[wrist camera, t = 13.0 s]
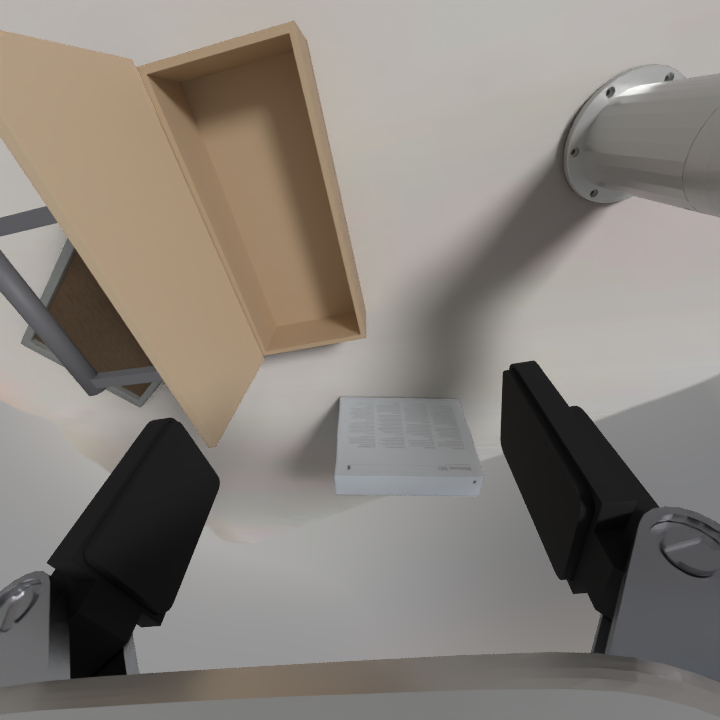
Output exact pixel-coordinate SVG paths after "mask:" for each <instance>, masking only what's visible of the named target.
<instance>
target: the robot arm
mask: <svg viewBox="0 0 720 720" xmlns="http://www.w3.org/2000/svg"><path fill="white" fill-rule="evenodd" d="M664 79H665V80H664ZM606 92H608V93H607V95H606ZM572 150H573V153H572V154H571V152H572ZM563 163H564V172H565V176H566V179H567V181H568V183H569V185H570V187H571V188H572V189H573V190H574V192H575V193H576V194H578V195H579V196H581V197H582V198H584V199H587V200H590V201H593V202H598V203H612V202H617V201H622V200H624V199H627V198H630V197H632V196H636V197H640V198H644V199H648V200H652V201H656V202H660V203H664V204H668V205H672V206H676V207H679V208H683V209H687V210H691V211H695V212H699V213H703V214H708V215H712V216H716V217H720V74H713V75H706V76H700V77H693V78H686V77H685V76H684V75H683V74H682V73H681V72H679V71H678V70H677V69H675V68H672V67H670V66H668V65H659V64H653V65H646V66H640V67H637V68H633V69H630V70H628V71H625V72H623V73H621V74H619V75H617V76H616V77H614V78H613V79H611V80H610V81H608V82H607V83H605V84H604V85H603V86H602V87H601V88H600V89H599V90H597V91H596V92H595V93H594V94H593V95H592V97H591V98H590V99H589V100H588V101H587V102H586V104H585V105H584V106H583V108H582V109H581V111H580V112H579V114H578V115H577V117H576V118H575V120H574V123H573V125H572V127H571V129H570V131H569V134H568V137H567V140H566V143H565V149H564V156H563ZM591 191H592V192H591ZM590 193H591V194H590ZM501 446H502V450H503V453H504V455H505V457H506V460H507V462H508V464H509V466H510V469H511V471H512V474H513V476H514V478H515V481H516V483H517V485H518V488H519V490H520V492H521V494H522V497H523V499H524V501H525V504H526V505H527V508H528V511H529V513H530V515H531V518H532V520H533V522H534V524H535V526H536V529H537V531H538V534H539V536H540V538H541V541H542V543H543V545H544V548H545V550H546V552H547V554H548V557H549V559H550V562H551V563H552V566H553V569H554V571H555V573H556V575H557V576H558V578H559V579H560V580H567V581H568V583H569V586H570V588H571V590H572V592H573V594H578V593H588V595H589V598H590V600H591V602H592V604H593V606H594V608H595V610H597V611H599V612H600V613H601V615H600V619H599V623H598V627H597V630H596V634H595V638H594V642H593V646H592V650H591V653H562V652H539V653H511V654H482V655H457V656H439V657H438V656H437V657H420V658H401V659H382V660H364V661H346V662H327V663H312V664H294V665H276V666H260V667H243V668H226V669H211V670H194V671H179V672H163V673H149V674H148V673H147V674H139V668H138V662H137V656H136V651H135V645H134V639H133V634H132V633H133V630H134V628H135V626H136V624H137V625H139V626H140V627H152V626H161V623H162V621H163V618H164V616H165V613H166V612H167V611H168V610H169V609H170V608H171V607H172V605H173V603H174V600H175V598H176V595H177V592H178V590H179V588H180V585H181V583H182V580H183V578H184V575H185V573H186V570H187V568H188V565H189V563H190V560H191V557H192V555H193V553H194V550H195V547H196V545H197V542H198V540H199V537H200V535H201V532H202V530H203V527H204V525H205V522H206V520H207V517H208V515H209V512H210V510H211V507H212V505H213V502H214V500H215V497H216V495H217V492H218V490H219V486H220V480H219V477H218V475H217V474H216V472H215V471H214V470H213V468H212V467H211V465H210V464H209V462H208V461H207V459H206V458H205V457H204V455H203V454H202V452H201V451H200V449H199V448H198V447H197V445H196V444H195V442H194V441H193V439H192V438H191V436H190V435H189V434H188V432H187V431H186V429H185V428H184V426H183V425H182V424H181V423H180V422H177V421H176V420H175V419H173V418H165V419H158V420H152V421H150V422H149V423H148V424H147V425H146V426H145V428H144V429H143V431H142V432H141V433H140V435H139V436H138V437H137V439H136V440H135V442H134V443H133V444H132V446H131V447H130V448H129V450H128V451H127V453H126V454H125V455H124V457H123V458H122V460H121V461H120V462H119V464H118V465H117V466H116V468H115V469H114V471H113V472H112V473H111V475H110V476H109V478H108V479H107V480H106V482H105V483H104V484H103V486H102V487H101V489H100V490H99V492H98V493H97V494H96V495H95V497H94V498H93V500H92V501H91V502H90V504H89V505H88V506H87V508H86V509H85V511H84V512H83V513H82V515H81V516H80V517H79V519H78V520H77V522H76V523H75V524H74V526H73V527H72V528H71V530H70V531H69V533H68V534H67V535H66V537H65V538H64V540H63V541H62V542H61V544H60V545H59V546H58V548H57V549H56V550H55V552H54V553H53V555H52V556H51V557H50V559H49V560H48V562H47V563H48V564H49V565H51V566H52V567H54V568H55V571H54V572H53V574H52V575H51V576H50V575H48V574H47V573H45V572H44V571H35V572H32V573H29V574H26V575H24V576H22V577H20V578H19V579H17V580H15V581H13V582H12V583H11V584H9V585H8V586H7V587H5V588H4V589H3V590H2V591H0V720H720V524H718V523H717V522H716V521H714V520H712V519H710V518H708V517H706V516H704V515H702V514H700V513H697V512H694V511H691V510H687V509H683V508H680V507H667V506H665V507H659V506H658V505H657V503H656V502H655V501H654V500H653V498H652V497H651V496H650V495H649V493H648V492H647V491H646V489H645V488H644V487H643V486H642V484H641V483H640V482H639V480H638V479H637V478H636V477H635V475H634V474H633V473H632V471H631V470H630V469H629V468H628V466H627V465H626V464H625V463H624V461H623V460H622V459H621V457H620V456H619V455H618V453H617V452H616V451H615V450H614V448H613V447H612V446H611V445H610V443H609V442H608V441H607V439H606V438H605V437H604V436H603V434H602V433H601V432H600V431H599V429H598V428H597V427H596V425H595V424H594V423H593V421H592V420H591V419H590V418H589V416H588V415H587V414H586V413H585V412H584V410H583V409H582V408H580V407H578V406H571V407H569V406H568V404H567V403H566V402H565V400H564V399H563V398H562V396H561V395H560V394H559V392H558V391H557V390H556V388H555V387H554V385H553V384H552V383H551V381H550V380H549V379H548V377H547V376H546V375H545V373H544V372H543V371H542V369H541V368H540V366H539V365H538V364H537V363H536V362H535V361H528V362H521V363H515V364H511V365H510V368H509V370H506V371H504V372H503V383H502V411H501Z"/></svg>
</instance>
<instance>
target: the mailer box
mask: <svg viewBox="0 0 720 720" xmlns="http://www.w3.org/2000/svg"><path fill="white" fill-rule="evenodd" d="M136 68H137V70H138V72H139V75H140V77H141V79H142V81H143V84H144V86H145V88H146V91H147V93H148V95H149V97H150V100H151V102H152V104H153V106H154V109H155V111H156V113H157V116H158V118H159V120H160V122H161V125H162V127H163V129H164V131H165V134H166V136H167V138H168V141H169V143H170V145H171V147H172V150H173V152H174V154H175V157H176V159H177V161H178V163H179V166H180V168H181V170H182V172H183V175H184V177H185V179H186V182H187V184H188V186H189V188H190V191H191V193H192V195H193V197H194V200H195V202H196V204H197V207H198V209H199V211H200V213H201V216H202V218H203V220H204V222H205V225H206V227H207V229H208V232H209V234H210V236H211V238H212V241H213V243H214V245H215V247H216V250H217V252H218V254H219V257H220V259H221V261H222V263H223V266H224V268H225V270H226V272H227V275H228V277H229V279H230V282H231V284H232V286H233V288H234V291H235V293H236V295H237V297H238V300H239V302H240V304H241V307H242V309H243V311H244V313H245V316H246V318H247V320H248V322H249V325H250V327H251V329H252V332H253V334H254V336H255V338H256V341H257V343H258V345H259V348H260V350H261V352H262V354H263V356H265V355H271V354H277V353H282V352H288V351H294V350H300V349H305V348H311V347H317V346H322V345H328V344H334V343H340V342H345V341H351V340H357V339H363V338H366V310H365V306H364V301H363V296H362V292H361V287H360V283H359V278H358V273H357V269H356V264H355V260H354V255H353V250H352V246H351V241H350V237H349V232H348V227H347V223H346V218H345V214H344V209H343V204H342V200H341V195H340V191H339V186H338V181H337V177H336V172H335V168H334V163H333V158H332V154H331V149H330V145H329V140H328V135H327V131H326V126H325V122H324V117H323V112H322V108H321V103H320V99H319V94H318V89H317V85H316V80H315V76H314V71H313V66H312V62H311V57H310V53H309V48H308V43H307V40H306V38H305V37H304V35H303V34H302V32H301V31H300V29H299V28H298V26H297V25H296V23H295V21H291V22H288V23H285V24H281V25H278V26H274V27H271V28H268V29H264V30H261V31H258V32H254V33H251V34H247V35H244V36H241V37H237V38H234V39H230V40H227V41H224V42H220V43H217V44H213V45H210V46H207V47H203V48H200V49H197V50H193V51H190V52H186V53H183V54H180V55H176V56H173V57H169V58H166V59H163V60H159V61H156V62H153V63H149V64H146V65H142V66H139V67H136Z"/></svg>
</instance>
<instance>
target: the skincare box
mask: <svg viewBox="0 0 720 720" xmlns="http://www.w3.org/2000/svg"><path fill="white" fill-rule="evenodd" d="M484 479H485V474H484V472H483V470H482V467H481V464H480V461H479V458H478V455H477V452H476V449H475V446H474V442H473V439H472V436H471V433H470V430H469V427H468V425H467V423H466V420H465V417H464V414H463V411H462V408H461V405H460V401H459V399H440V398H373V397H340V398H339V414H338V428H337V444H336V462H335V472H334V482H335V494H336V495H412V496H417V495H418V496H478V494H479V492H480V489H481V486H482V484H483V482H484Z"/></svg>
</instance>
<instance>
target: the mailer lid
mask: <svg viewBox="0 0 720 720" xmlns="http://www.w3.org/2000/svg"><path fill="white" fill-rule="evenodd" d="M0 137H1V138H2V140H3V141H4V143H5V144H6V146H7V147H8V149H9V150H10V152H11V153H12V155H13V156H14V158H15V159H16V161H17V162H18V164H19V165H20V167H21V168H22V170H23V171H24V173H25V174H26V176H27V177H28V179H29V180H30V182H31V183H32V185H33V186H34V188H35V189H36V191H37V192H38V194H39V195H40V197H41V198H42V200H43V201H44V203H45V204H46V207H42V208H38V209H34V210H30V211H26V212H22V213H18V214H14V215H10V216H6V217H2V218H0V236H4V235H8V234H13V233H17V232H21V231H25V230H29V229H34V228H38V227H42V226H46V225H51V224H55V223H58V224H59V225H60V227H61V228H62V230H63V231H64V233H65V234H66V236H67V237H68V239H69V240H70V242H71V243H72V245H73V246H74V247H75V249H76V250H77V252H78V253H79V255H80V256H81V258H82V259H83V261H84V262H85V264H86V265H87V267H88V268H89V270H90V271H91V273H92V274H93V276H94V277H95V279H96V280H97V282H98V283H99V285H100V286H101V288H102V289H103V291H104V292H105V294H106V295H107V297H108V298H109V300H110V301H111V303H112V304H113V306H114V307H115V309H116V310H117V312H118V313H119V315H120V316H121V318H122V319H123V321H124V322H125V324H126V325H127V327H128V328H129V330H130V331H131V333H132V334H133V336H134V337H135V339H136V340H137V342H138V343H139V345H140V346H141V348H142V349H143V351H144V352H145V354H146V355H147V356H148V358H149V359H150V361H151V362H152V364H153V365H154V366H148V367H140V368H132V369H125V370H117V371H109V372H101V373H98V372H97V371H96V370H95V369H94V367H93V366H92V365H91V364H90V362H89V361H88V360H87V359H86V357H85V356H84V355H83V354H82V352H81V351H80V350H79V348H78V347H77V346H76V345H75V343H74V342H73V341H72V340H71V338H70V337H69V336H68V335H67V333H66V332H65V331H64V330H63V328H62V327H61V326H60V325H59V323H58V322H57V321H56V320H55V318H54V317H53V316H52V314H51V313H50V312H49V311H48V309H47V308H46V307H45V306H44V304H43V303H42V302H41V301H40V299H39V298H38V297H37V296H36V294H35V293H34V292H33V291H32V289H31V288H30V287H29V286H28V284H27V283H26V282H25V280H24V279H23V278H22V277H21V275H20V274H19V273H18V272H17V270H16V269H15V268H14V267H13V265H12V264H11V263H10V262H9V260H8V259H7V258H6V257H5V255H4V254H3V253H2V252H1V250H0V292H1V293H2V294H3V295H4V296H5V297H6V299H7V300H8V301H9V302H10V303H11V304H12V306H13V307H14V308H15V309H16V310H17V312H18V313H19V314H20V315H21V316H22V317H23V319H24V320H25V321H26V322H27V323H28V324H29V326H30V327H31V328H32V329H33V330H34V331H35V333H36V334H37V335H38V336H39V337H40V339H41V340H42V341H43V342H44V343H45V344H46V346H47V347H48V348H49V349H50V350H51V351H52V353H53V354H54V355H55V356H56V357H57V359H58V360H59V361H60V362H61V363H62V364H63V366H64V367H65V368H66V369H67V370H68V371H69V373H70V374H71V375H72V376H73V377H74V378H75V380H76V381H77V382H78V383H79V384H80V386H81V387H82V388H83V389H84V390H85V391H86V393H87V394H88V395H89V396H94V395H97V394H99V393H101V392H103V391H104V390H105V389H106V388H107V387H115V386H124V385H132V384H140V383H149V382H157V381H164V382H165V383H166V385H167V386H168V388H169V389H170V391H171V392H172V394H173V395H174V397H175V398H176V400H177V401H178V403H179V404H180V406H181V407H182V409H183V410H184V412H185V413H186V415H187V416H188V418H189V419H190V421H191V422H192V424H193V425H194V427H195V428H196V430H197V431H198V433H199V434H200V436H201V437H202V439H203V440H204V442H205V443H206V445H207V446H208V448H210V447H216V446H217V444H218V442H219V440H220V439H221V437H222V435H223V433H224V431H225V429H226V428H227V426H228V424H229V422H230V420H231V419H232V417H233V415H234V413H235V411H236V410H237V408H238V406H239V404H240V402H241V401H242V399H243V397H244V395H245V393H246V392H247V390H248V388H249V386H250V384H251V382H252V381H253V379H254V377H255V375H256V373H257V372H258V370H259V368H260V366H261V364H262V363H263V361H264V357H263V355H262V353H261V351H260V348H259V346H258V344H257V342H256V339H255V337H254V335H253V332H252V330H251V328H250V326H249V323H248V321H247V319H246V317H245V314H244V312H243V310H242V307H241V305H240V303H239V301H238V298H237V296H236V294H235V292H234V289H233V287H232V285H231V283H230V280H229V278H228V276H227V273H226V271H225V269H224V267H223V264H222V262H221V260H220V258H219V255H218V253H217V251H216V248H215V246H214V244H213V242H212V239H211V237H210V235H209V233H208V230H207V228H206V226H205V223H204V221H203V219H202V217H201V214H200V212H199V210H198V208H197V205H196V203H195V201H194V199H193V196H192V194H191V192H190V189H189V187H188V185H187V183H186V180H185V178H184V176H183V174H182V171H181V169H180V167H179V164H178V162H177V160H176V158H175V155H174V153H173V151H172V149H171V146H170V144H169V142H168V139H167V137H166V135H165V133H164V130H163V128H162V126H161V124H160V121H159V119H158V117H157V115H156V112H155V110H154V108H153V105H152V103H151V101H150V99H149V96H148V94H147V92H146V90H145V87H144V85H143V83H142V80H141V78H140V76H139V74H138V71H137V69H136V67H135V65H134V62H133V60H132V59H128V58H123V57H119V56H114V55H110V54H105V53H101V52H96V51H92V50H87V49H83V48H78V47H74V46H69V45H65V44H60V43H56V42H51V41H47V40H42V39H38V38H33V37H28V36H24V35H19V34H15V33H10V32H6V31H1V30H0Z"/></svg>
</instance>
